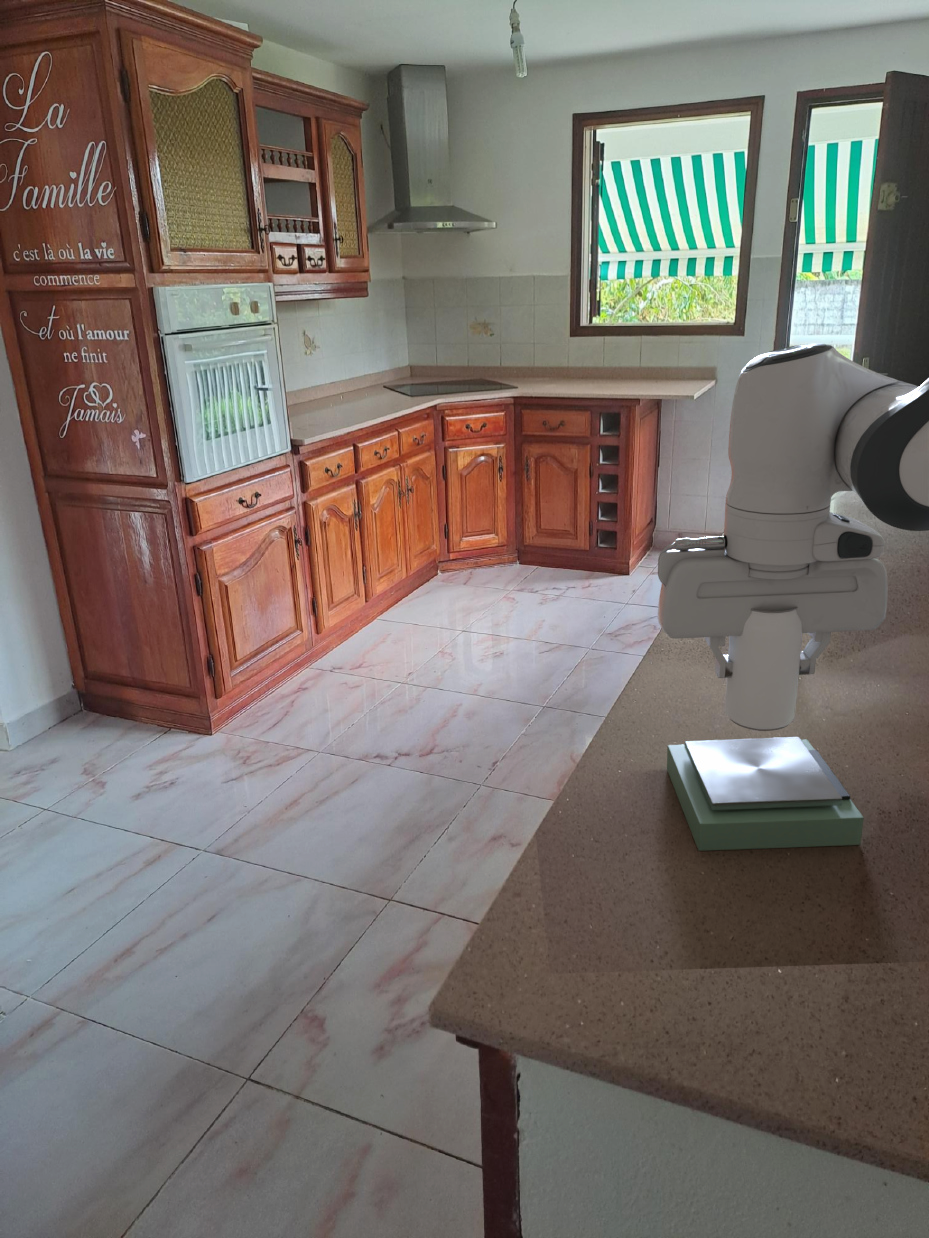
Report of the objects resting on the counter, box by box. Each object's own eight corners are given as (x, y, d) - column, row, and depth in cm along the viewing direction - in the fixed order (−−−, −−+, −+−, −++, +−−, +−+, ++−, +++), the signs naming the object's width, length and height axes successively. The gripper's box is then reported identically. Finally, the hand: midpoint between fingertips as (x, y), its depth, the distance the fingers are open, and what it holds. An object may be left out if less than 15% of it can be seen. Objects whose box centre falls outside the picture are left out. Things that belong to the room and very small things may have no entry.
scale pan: (798, 743, 93) (798, 736, 93) (841, 805, 82) (842, 798, 82) (684, 747, 94) (684, 741, 93) (712, 810, 82) (712, 803, 82)
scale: (805, 763, 96) (807, 735, 95) (860, 845, 82) (864, 813, 81) (666, 769, 96) (667, 741, 95) (698, 851, 82) (699, 820, 81)
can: (736, 734, 83) (744, 615, 78) (716, 704, 89) (722, 591, 84) (805, 730, 83) (816, 610, 78) (779, 700, 89) (789, 587, 84)
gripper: (665, 549, 77) (661, 692, 81) (904, 538, 76) (885, 683, 81) (652, 530, 82) (649, 665, 87) (873, 520, 82) (857, 656, 87)
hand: (764, 674), depth 84 cm, fingers closed on can, 6 cm apart
